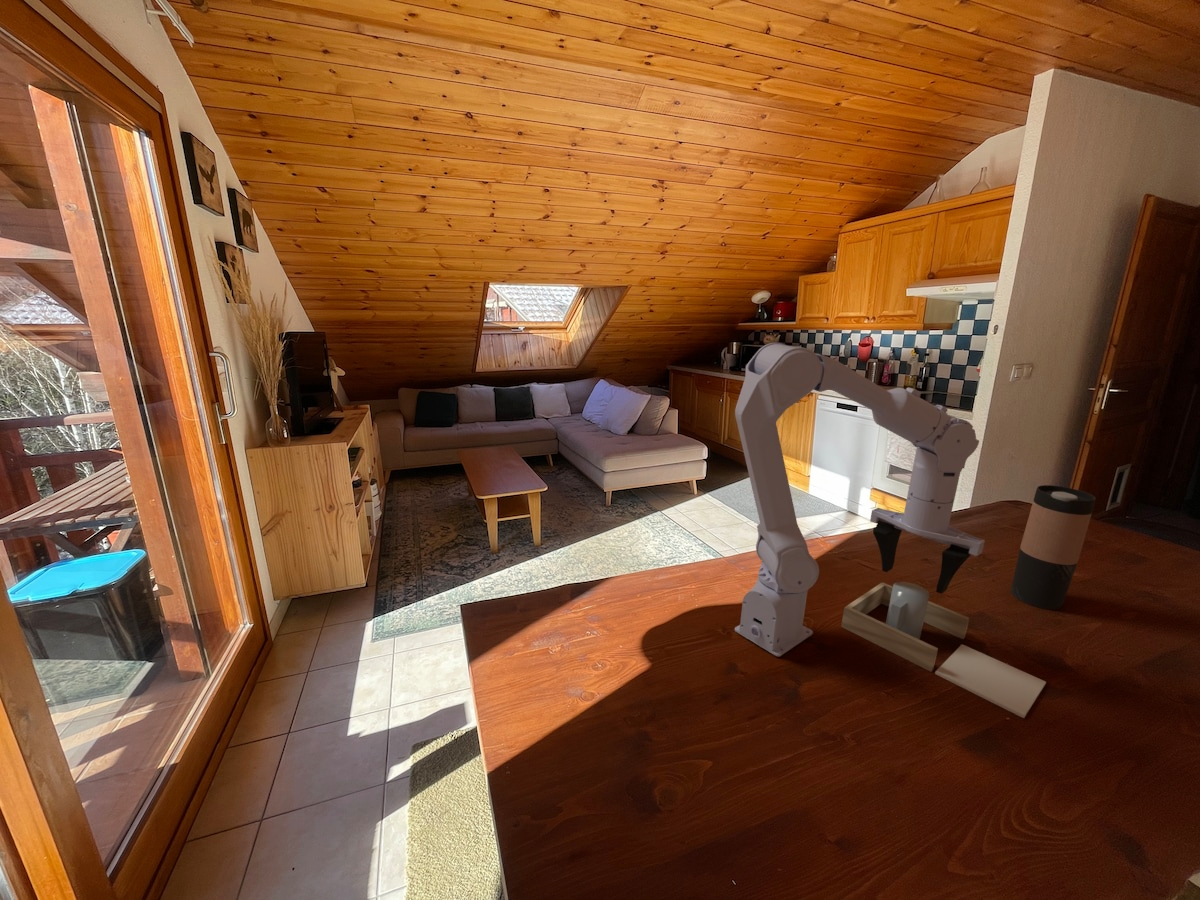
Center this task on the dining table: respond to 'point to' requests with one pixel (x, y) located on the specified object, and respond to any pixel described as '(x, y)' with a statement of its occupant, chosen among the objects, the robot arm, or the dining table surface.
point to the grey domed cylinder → (907, 608)
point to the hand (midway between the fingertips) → (913, 579)
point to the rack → (895, 638)
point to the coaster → (992, 680)
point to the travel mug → (1051, 545)
